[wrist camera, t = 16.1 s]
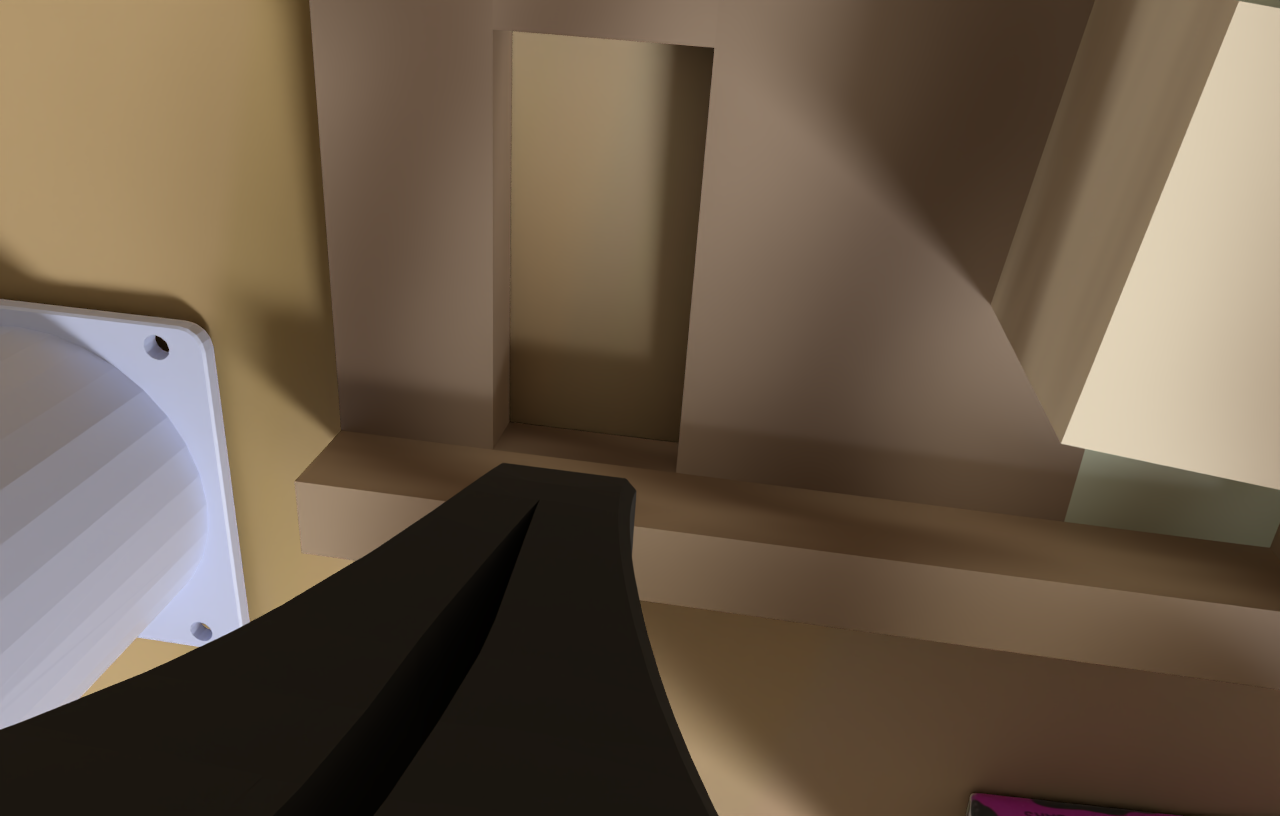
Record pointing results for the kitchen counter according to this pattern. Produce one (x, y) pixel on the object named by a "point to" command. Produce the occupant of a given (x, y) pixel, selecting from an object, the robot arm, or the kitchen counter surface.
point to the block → (1159, 242)
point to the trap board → (777, 334)
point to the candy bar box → (1040, 808)
